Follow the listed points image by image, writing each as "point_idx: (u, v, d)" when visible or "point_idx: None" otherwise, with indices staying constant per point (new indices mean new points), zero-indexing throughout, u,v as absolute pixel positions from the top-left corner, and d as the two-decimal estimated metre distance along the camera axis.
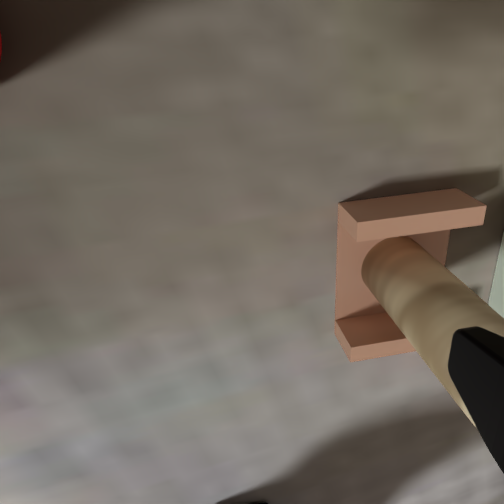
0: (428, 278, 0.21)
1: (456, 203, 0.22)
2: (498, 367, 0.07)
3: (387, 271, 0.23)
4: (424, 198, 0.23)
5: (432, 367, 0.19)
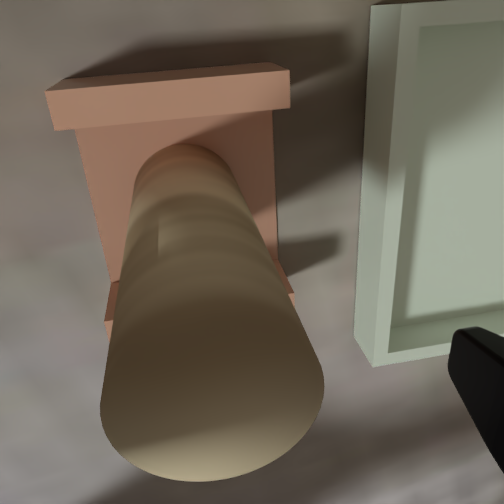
0: (167, 189, 0.12)
1: (244, 71, 0.13)
2: (498, 367, 0.07)
3: (137, 191, 0.14)
4: (203, 70, 0.14)
5: None
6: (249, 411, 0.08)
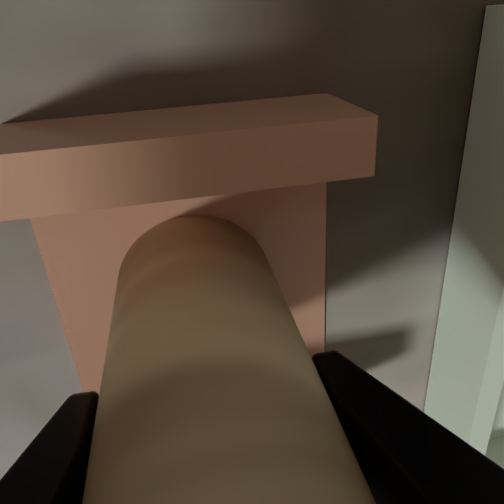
0: (169, 341, 0.06)
1: (297, 115, 0.08)
2: (335, 397, 0.07)
3: (119, 307, 0.08)
4: (226, 109, 0.09)
5: None
6: None
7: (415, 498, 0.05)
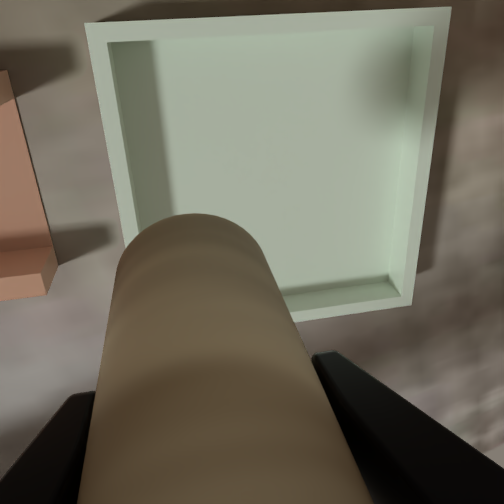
0: (165, 339, 0.06)
1: None
2: (335, 397, 0.07)
3: (116, 305, 0.08)
4: None
5: None
6: None
7: (415, 498, 0.05)
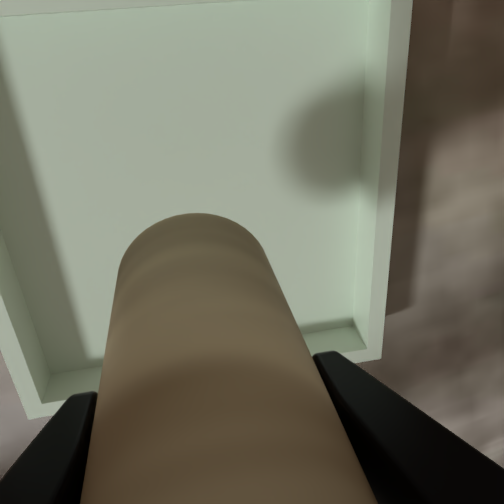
0: (168, 339, 0.06)
1: None
2: (334, 397, 0.07)
3: (118, 305, 0.08)
4: None
5: None
6: None
7: (415, 498, 0.05)
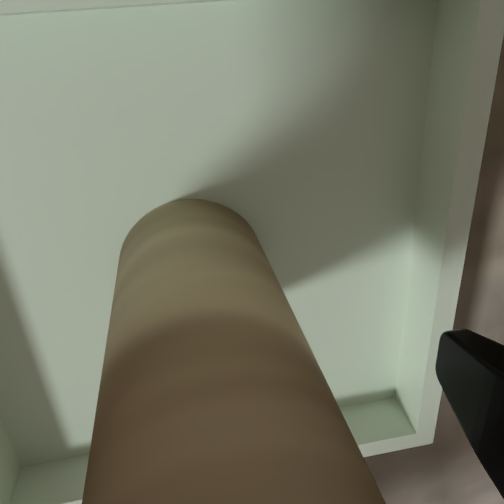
0: (169, 301, 0.07)
1: None
2: (483, 370, 0.07)
3: (121, 280, 0.09)
4: None
5: None
6: None
7: None
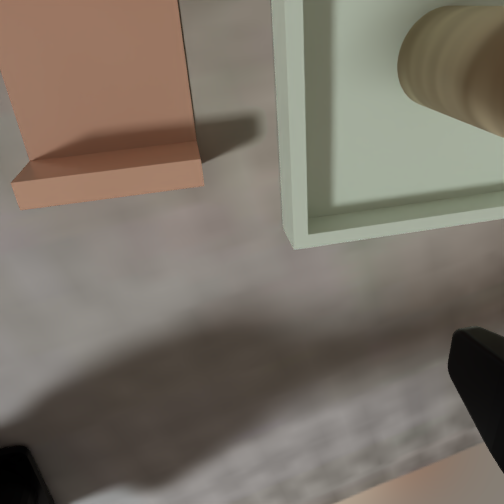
0: None
1: None
2: (498, 367, 0.07)
3: (441, 33, 0.15)
4: None
5: None
6: None
7: None
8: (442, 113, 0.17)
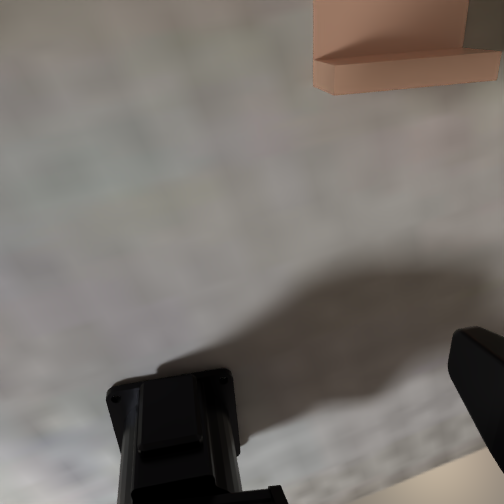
0: None
1: None
2: (498, 367, 0.07)
3: None
4: None
5: None
6: None
7: None
8: None
